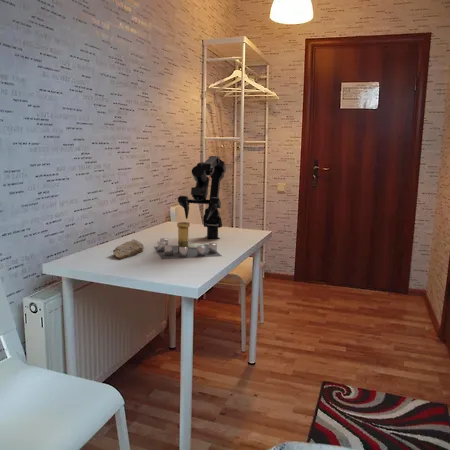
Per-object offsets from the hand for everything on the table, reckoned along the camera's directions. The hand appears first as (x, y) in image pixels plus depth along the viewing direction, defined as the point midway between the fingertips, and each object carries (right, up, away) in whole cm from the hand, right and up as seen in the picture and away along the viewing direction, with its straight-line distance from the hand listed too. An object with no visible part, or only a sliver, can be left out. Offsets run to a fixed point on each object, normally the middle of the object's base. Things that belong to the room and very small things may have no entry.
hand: (196, 219), depth 195 cm
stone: (-29, -15, -2) cm, 33 cm away
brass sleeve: (-6, -15, 0) cm, 16 cm away
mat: (-4, -15, +2) cm, 15 cm away
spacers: (-6, -15, -1) cm, 16 cm away
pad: (-2, -13, +12) cm, 17 cm away
